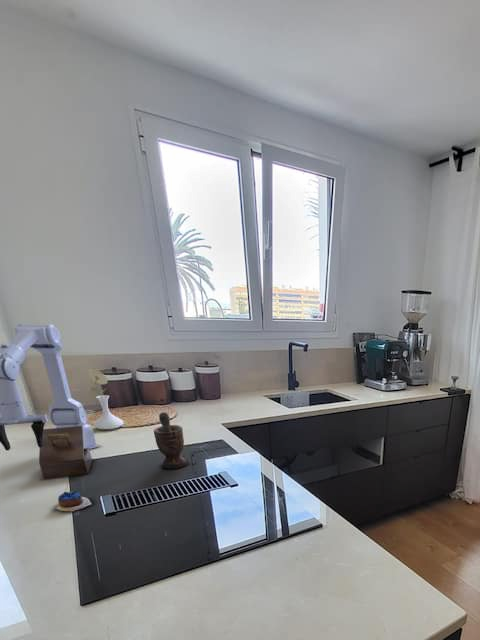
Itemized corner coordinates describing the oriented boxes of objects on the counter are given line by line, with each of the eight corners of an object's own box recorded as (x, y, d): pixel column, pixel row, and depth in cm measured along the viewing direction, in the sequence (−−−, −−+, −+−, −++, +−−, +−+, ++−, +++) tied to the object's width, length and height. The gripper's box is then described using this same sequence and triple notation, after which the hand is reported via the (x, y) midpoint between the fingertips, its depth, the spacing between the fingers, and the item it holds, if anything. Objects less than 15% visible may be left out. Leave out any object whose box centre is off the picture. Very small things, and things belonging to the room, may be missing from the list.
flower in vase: (129, 427, 174) (117, 369, 164) (103, 433, 165) (88, 372, 155) (114, 422, 180) (101, 366, 170) (87, 427, 171) (72, 369, 161)
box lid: (40, 430, 126) (35, 421, 122) (82, 427, 131) (78, 417, 127) (39, 465, 119) (34, 456, 116) (84, 460, 124) (80, 451, 121)
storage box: (52, 464, 132) (48, 452, 130) (92, 460, 137) (88, 447, 135) (44, 479, 121) (39, 465, 119) (87, 473, 126) (84, 460, 124)
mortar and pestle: (195, 468, 132) (186, 410, 124) (168, 475, 127) (157, 414, 119) (182, 459, 140) (173, 403, 132) (157, 464, 135) (145, 407, 127)
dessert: (47, 506, 104) (56, 485, 105) (70, 510, 110) (79, 490, 111) (67, 514, 101) (77, 493, 102) (90, 518, 107) (99, 497, 108)
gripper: (-29, 407, 105) (-11, 455, 110) (38, 403, 111) (52, 448, 116) (-20, 401, 110) (-4, 447, 116) (43, 398, 117) (56, 441, 122)
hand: (24, 447), depth 116 cm, fingers open, 7 cm apart
